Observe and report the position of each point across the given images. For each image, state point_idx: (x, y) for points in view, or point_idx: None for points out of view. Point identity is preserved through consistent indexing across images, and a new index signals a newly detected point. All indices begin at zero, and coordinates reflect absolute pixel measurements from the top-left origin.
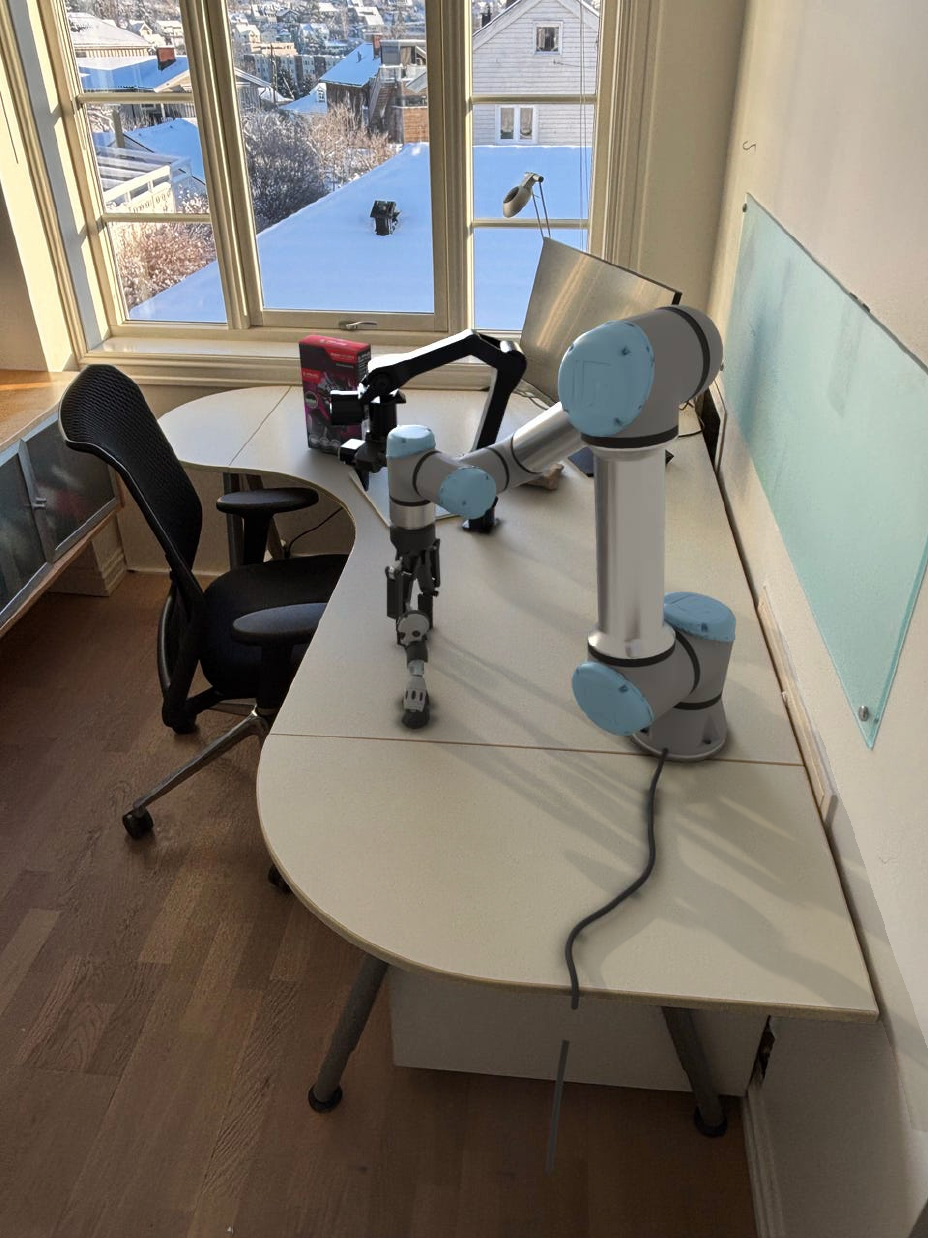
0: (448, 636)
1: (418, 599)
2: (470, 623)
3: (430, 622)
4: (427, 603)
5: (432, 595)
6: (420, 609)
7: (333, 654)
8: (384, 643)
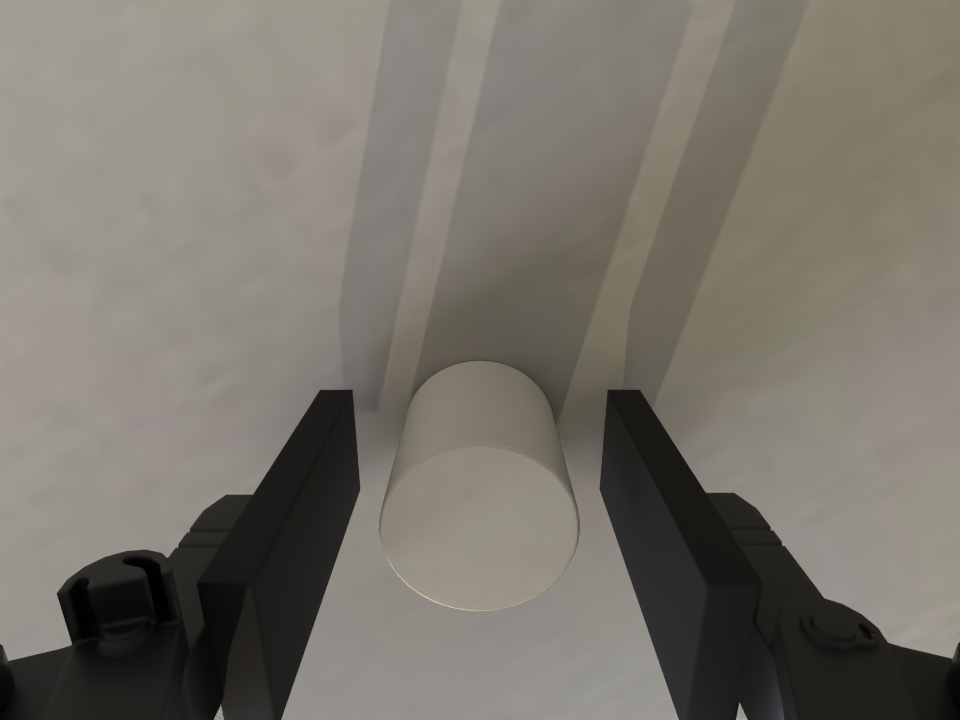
0: (324, 239)
1: (291, 672)
2: (58, 179)
3: (337, 421)
4: (283, 567)
5: (179, 607)
6: (322, 569)
7: None
8: None
